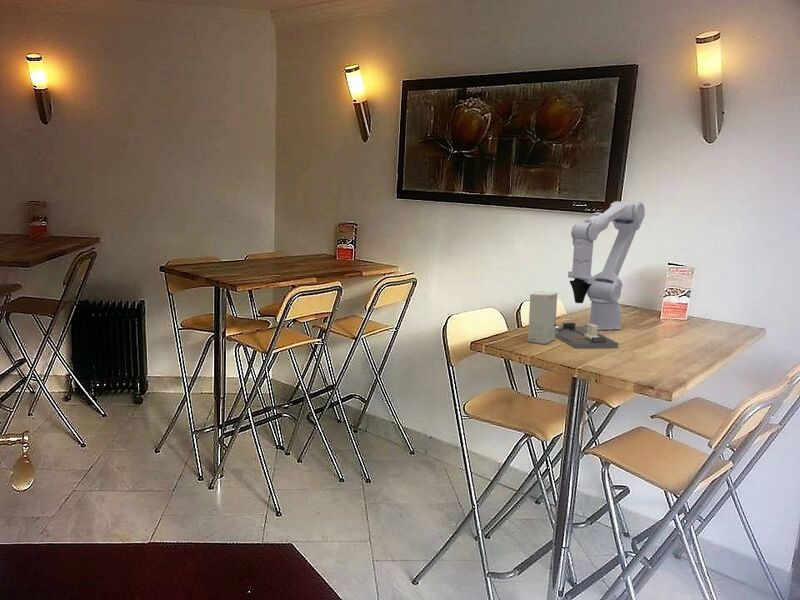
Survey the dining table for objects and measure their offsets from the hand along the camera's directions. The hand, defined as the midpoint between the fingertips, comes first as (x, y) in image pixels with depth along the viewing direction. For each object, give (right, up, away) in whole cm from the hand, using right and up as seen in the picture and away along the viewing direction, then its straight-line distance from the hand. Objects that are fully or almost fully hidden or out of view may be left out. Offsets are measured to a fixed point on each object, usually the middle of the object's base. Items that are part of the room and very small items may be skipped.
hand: (578, 302), depth 190 cm
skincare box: (-14, -12, -10) cm, 21 cm away
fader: (0, -10, -12) cm, 16 cm away
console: (-2, -11, -6) cm, 13 cm away
